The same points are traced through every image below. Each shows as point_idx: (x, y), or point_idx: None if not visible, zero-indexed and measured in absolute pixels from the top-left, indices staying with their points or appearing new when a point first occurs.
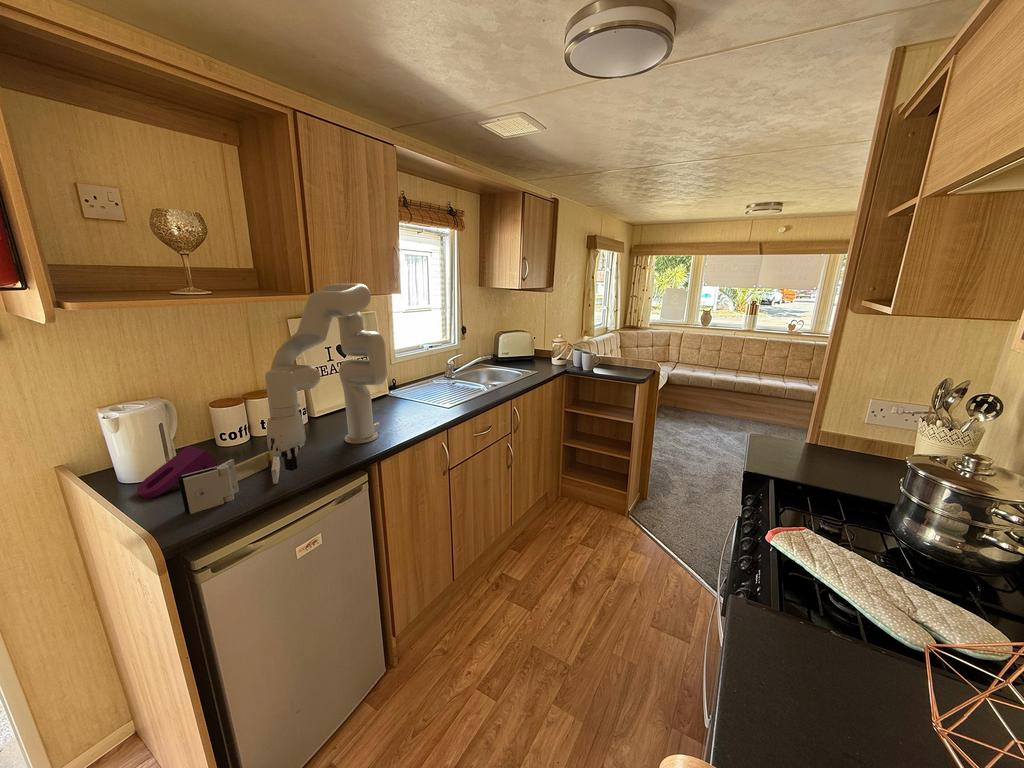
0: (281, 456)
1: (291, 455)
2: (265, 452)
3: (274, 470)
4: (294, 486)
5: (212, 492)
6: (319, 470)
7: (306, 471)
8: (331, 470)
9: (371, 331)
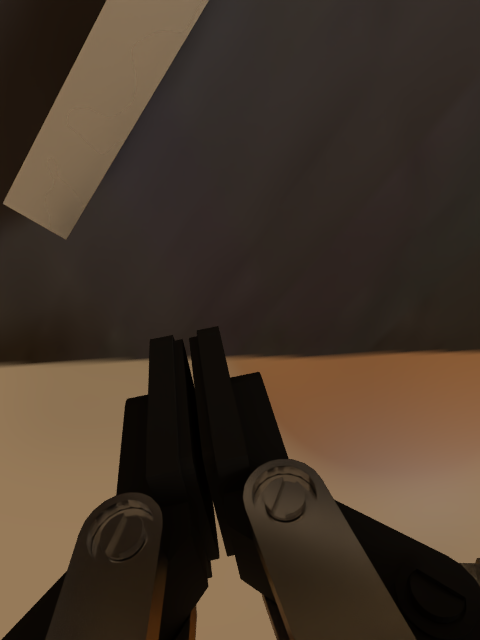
0: (40, 621)
1: (193, 632)
2: None
3: (48, 224)
4: None
5: None
6: (455, 264)
7: (416, 175)
8: (468, 341)
9: None
